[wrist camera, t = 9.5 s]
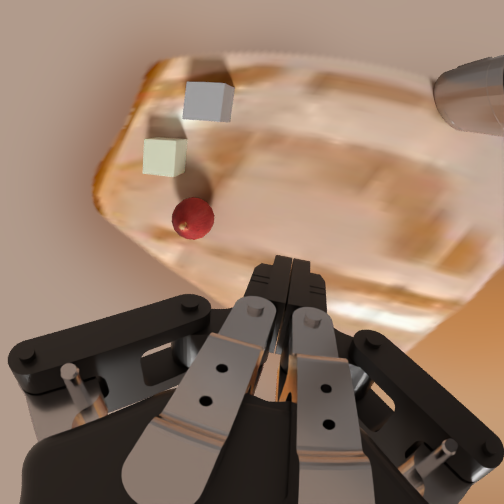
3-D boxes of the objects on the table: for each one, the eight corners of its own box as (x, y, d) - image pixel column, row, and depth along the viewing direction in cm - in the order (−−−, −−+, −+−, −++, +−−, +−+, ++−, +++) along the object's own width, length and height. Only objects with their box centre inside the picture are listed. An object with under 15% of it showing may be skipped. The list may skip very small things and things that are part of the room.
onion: (200, 236, 45) (180, 258, 38) (177, 207, 44) (152, 224, 37) (228, 214, 43) (211, 233, 36) (203, 184, 42) (181, 197, 35)
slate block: (200, 86, 36) (186, 81, 32) (234, 87, 36) (224, 83, 31) (196, 119, 38) (182, 119, 34) (230, 122, 38) (219, 121, 33)
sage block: (157, 137, 40) (144, 139, 37) (187, 139, 40) (176, 140, 36) (155, 168, 42) (142, 173, 39) (185, 172, 42) (173, 177, 38)
